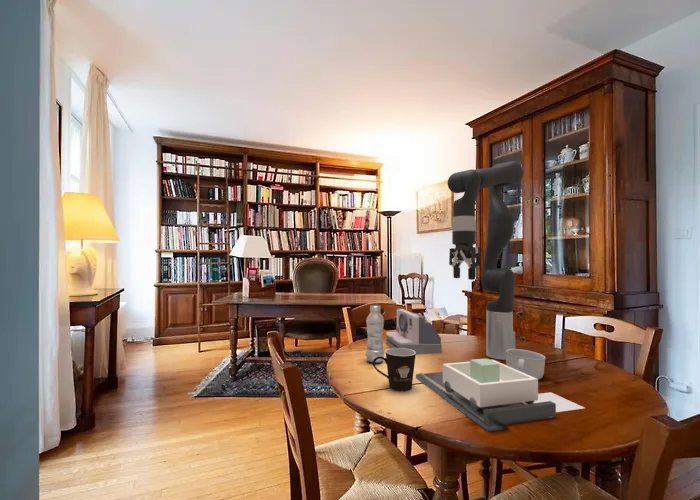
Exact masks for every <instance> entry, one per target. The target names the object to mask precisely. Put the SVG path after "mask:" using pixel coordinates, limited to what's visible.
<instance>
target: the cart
mask: <svg viewBox="0 0 700 500" xmlns="http://www.w3.org/2000/svg"><path fill="white" fill-rule="evenodd" d="M490 360H491V361H494V362H496V363H498V364H500V381H497V382H488V383H480V382H478V381H476V380H474V379H473V378H471V377H470V361H463V362H460V361H459V362H450V363H442V372H443V383H444V384H445V389H446V391H447V392H448V393H451V392H454V390H455V391H456V392H458V393H459V394H461V395H462V396H464V397H465V398H467V399H468V400H469V403H470V407H471V408H472V410H473V411H478V410H480V409H481V407H488V406H496V405H504V404H512V403H520V402H525V403H527V404H532V403H534V401H536V400H538V394H539V380H538V379H537V378H534V377H532V376H530V375H527V374H525V373H523V372H521V371H518V370H516V369H514V368H511V367H509V366H507V365H506V364H504V363H501V362H500V361H497V360H496V359H490Z"/></svg>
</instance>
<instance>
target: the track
mask: <svg viewBox="0 0 700 500" xmlns="http://www.w3.org/2000/svg"><path fill="white" fill-rule="evenodd" d="M415 378H416V379H417V380H418V381H420V382H421V383H422V384H423V385H425V386H427V387H428V388H429V389H430V390H432V391H433V392H434V393H436V394H437V395H439V396H440V397H441V399H442V398H443V399H444V400H445V401H446V402H447V403H449V404H450V405H452V406H453V407H454V408H455V409H457V410H459V412H461V413H462V414H464V415H465V416H466V417H468V418H469V419H471V420H472V421H473V422H474V423H476V424H477V425H478V426H480V427H481V428H482V429H484V430H485V431H487V432H489V433H490V432H497V431H501V430H502V431H503V430H508V429H510V428H509V427H508V426H506V425H512V424H519V423H526V422H532V421H533V422H534V421H539V420H547V419H553V418H557V412H556V404H555V403H553V402H551V401H547V402H540V403H532V404H527V403H525V402H520V403H512V404H504V405H496V406H488V407H481V409H480V410H478V411H473V410H472V408H471V407H470V403H469V400H468V399H467V398H465V397H464V396H462V395H461V394H459V393H458V392H456V391H455V390H454V392H451V393H448V392H447V391H446V389H445V384H444V383H443V371H436V372H428V373H423V372H418V373H417V374H415Z"/></svg>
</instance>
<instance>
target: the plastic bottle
mask: <svg viewBox="0 0 700 500" xmlns="http://www.w3.org/2000/svg"><path fill="white" fill-rule="evenodd" d="M369 307H370V308H369V311H370V312H369V314H368V315H367V317H366V330H367V344H366V350H365V357H366V360H367V362H368V363H372V364H373V360H374V359H375V358H376V357H379V356H381V357H384V358H385V351H384V344H383V343H384V342H383V334H384V333H383V332H384V325H385V319H384V317H383V315H382V313H381V305H379V304H370V306H369ZM383 361H384V360H383V359H377V360H376V361H375V364H378V363H382V362H383Z"/></svg>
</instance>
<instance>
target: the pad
mask: <svg viewBox="0 0 700 500" xmlns="http://www.w3.org/2000/svg"><path fill="white" fill-rule="evenodd" d="M547 401H551V402H553V403H555V404H556V413H562V412H568V411H569V412H570V411H576V410H582V409H583V410H584V409H585V407H584V406H583V405H579V404H578V403H575V402H573V401H571V400H568V399H566V398H564V397H562V396H560V395H558V394H555V393H553V392H551V391H550V392H544V393H543V392H542V393H538V400H536V401H534V403H540V402H547Z"/></svg>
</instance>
